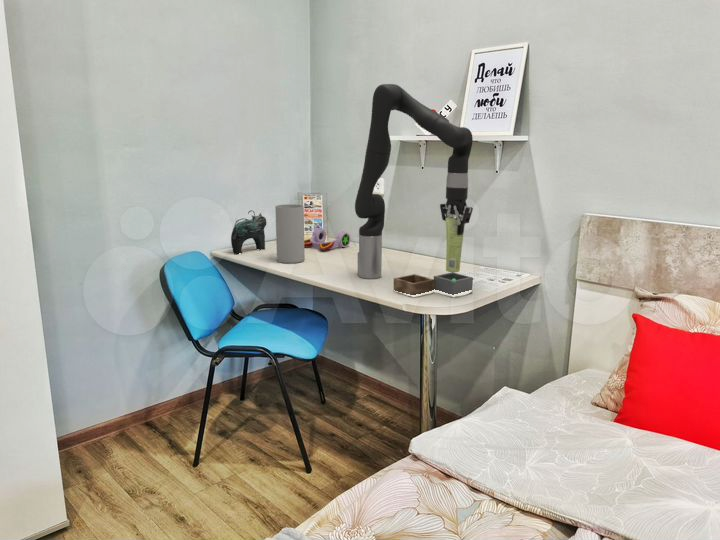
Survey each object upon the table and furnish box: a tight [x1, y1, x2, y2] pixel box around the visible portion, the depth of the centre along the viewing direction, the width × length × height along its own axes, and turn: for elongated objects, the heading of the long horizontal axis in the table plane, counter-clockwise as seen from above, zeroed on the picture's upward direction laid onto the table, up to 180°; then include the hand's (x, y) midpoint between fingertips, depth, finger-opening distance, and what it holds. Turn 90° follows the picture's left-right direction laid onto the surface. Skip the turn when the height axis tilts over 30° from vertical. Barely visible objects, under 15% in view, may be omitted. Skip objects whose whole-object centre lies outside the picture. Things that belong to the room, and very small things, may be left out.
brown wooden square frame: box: [393, 273, 435, 295], centre depth 206 cm, size 10×10×5 cm
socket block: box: [433, 272, 474, 295], centre depth 205 cm, size 10×10×7 cm
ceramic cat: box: [230, 210, 267, 255], centre depth 274 cm, size 20×6×20 cm, turn 139°
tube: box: [445, 217, 466, 273], centre depth 202 cm, size 6×5×20 cm
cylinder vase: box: [275, 203, 306, 264], centre depth 253 cm, size 12×12×25 cm
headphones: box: [304, 227, 351, 251], centre depth 286 cm, size 20×10×20 cm
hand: (454, 233), depth 201 cm, fingers closed on tube, 4 cm apart
